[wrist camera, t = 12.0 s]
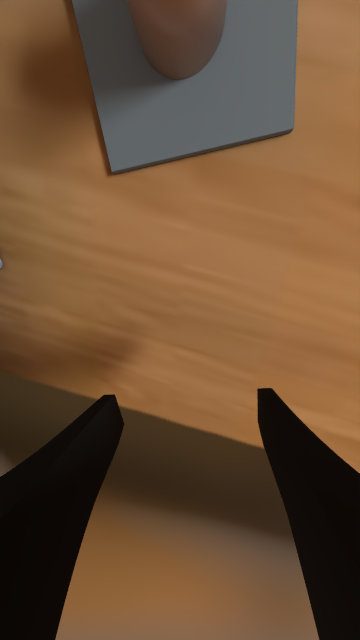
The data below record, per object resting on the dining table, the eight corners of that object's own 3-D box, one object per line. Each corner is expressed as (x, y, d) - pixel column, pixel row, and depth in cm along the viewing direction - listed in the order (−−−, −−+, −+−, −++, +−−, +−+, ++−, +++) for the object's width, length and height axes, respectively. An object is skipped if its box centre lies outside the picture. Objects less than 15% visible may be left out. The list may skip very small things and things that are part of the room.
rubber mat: (115, 174, 15) (111, 171, 14) (53, -95, 11) (45, -113, 10) (290, 132, 13) (293, 128, 13) (299, -213, 9) (305, -243, 8)
